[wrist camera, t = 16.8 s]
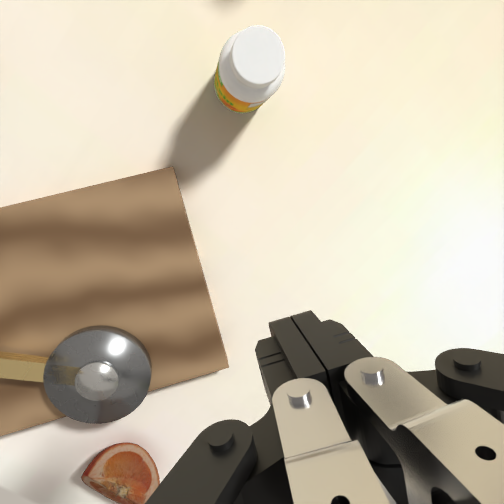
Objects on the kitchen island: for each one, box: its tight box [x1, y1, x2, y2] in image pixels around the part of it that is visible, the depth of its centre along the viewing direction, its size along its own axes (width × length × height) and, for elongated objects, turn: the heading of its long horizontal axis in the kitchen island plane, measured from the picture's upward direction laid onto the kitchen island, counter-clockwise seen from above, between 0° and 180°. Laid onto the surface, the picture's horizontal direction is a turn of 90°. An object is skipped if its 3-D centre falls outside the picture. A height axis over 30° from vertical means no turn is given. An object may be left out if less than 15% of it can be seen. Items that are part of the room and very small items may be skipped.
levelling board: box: [0, 167, 229, 436], centre depth 36 cm, size 22×26×5 cm
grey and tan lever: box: [0, 325, 152, 423], centre depth 33 cm, size 20×10×6 cm, turn 77°
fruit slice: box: [81, 443, 160, 504], centre depth 40 cm, size 8×7×5 cm
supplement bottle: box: [214, 25, 285, 113], centre depth 31 cm, size 5×5×10 cm
